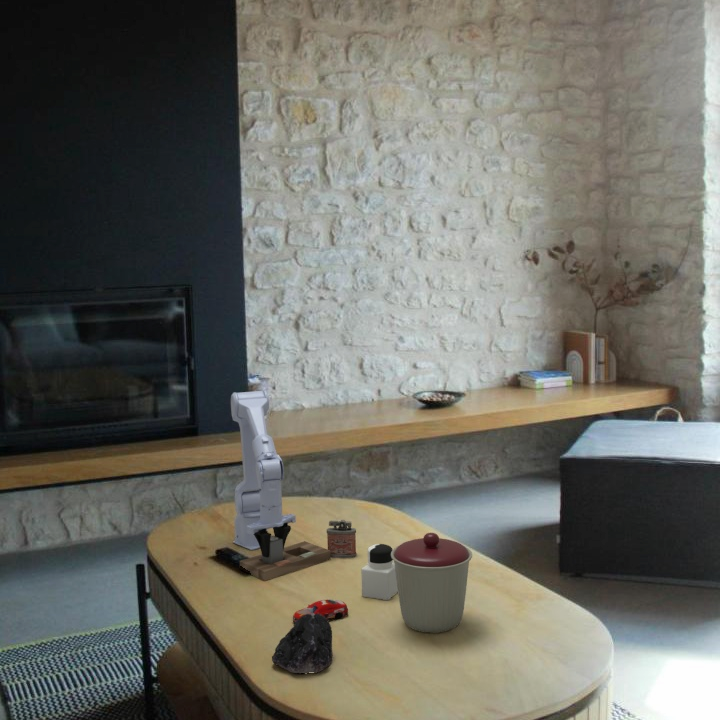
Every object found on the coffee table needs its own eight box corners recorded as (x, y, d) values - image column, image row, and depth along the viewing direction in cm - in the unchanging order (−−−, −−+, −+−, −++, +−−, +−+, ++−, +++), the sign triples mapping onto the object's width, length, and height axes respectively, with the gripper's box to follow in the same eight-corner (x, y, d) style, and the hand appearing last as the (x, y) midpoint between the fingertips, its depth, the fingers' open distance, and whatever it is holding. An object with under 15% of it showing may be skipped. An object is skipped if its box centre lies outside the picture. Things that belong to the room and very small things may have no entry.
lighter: (357, 554, 260) (356, 518, 259) (356, 558, 257) (355, 522, 255) (328, 553, 261) (327, 518, 259) (326, 557, 258) (325, 522, 256)
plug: (261, 561, 250) (261, 537, 249) (274, 557, 253) (273, 534, 252) (271, 564, 247) (270, 541, 246) (283, 561, 250) (282, 537, 249)
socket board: (239, 570, 250) (239, 559, 249) (305, 549, 264) (304, 540, 264) (265, 581, 242) (264, 570, 241) (330, 559, 256) (330, 549, 256)
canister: (379, 616, 218) (377, 527, 215) (448, 602, 225) (447, 516, 222) (414, 647, 202) (412, 551, 199) (487, 631, 209) (487, 539, 206)
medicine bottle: (399, 590, 233) (399, 543, 232) (388, 601, 227) (387, 552, 225) (373, 586, 236) (372, 540, 235) (361, 596, 230) (360, 549, 228)
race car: (298, 630, 212) (297, 613, 212) (289, 621, 217) (288, 604, 217) (351, 618, 218) (350, 601, 217) (341, 610, 223) (340, 593, 222)
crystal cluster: (283, 685, 188) (286, 638, 186) (261, 652, 200) (264, 608, 198) (344, 676, 193) (349, 631, 192) (320, 644, 206) (324, 602, 204)
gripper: (257, 513, 240) (259, 564, 242) (302, 501, 249) (303, 551, 251) (241, 507, 245) (243, 558, 247) (285, 496, 255) (287, 545, 257)
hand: (272, 554), depth 249 cm, fingers closed on plug, 4 cm apart
